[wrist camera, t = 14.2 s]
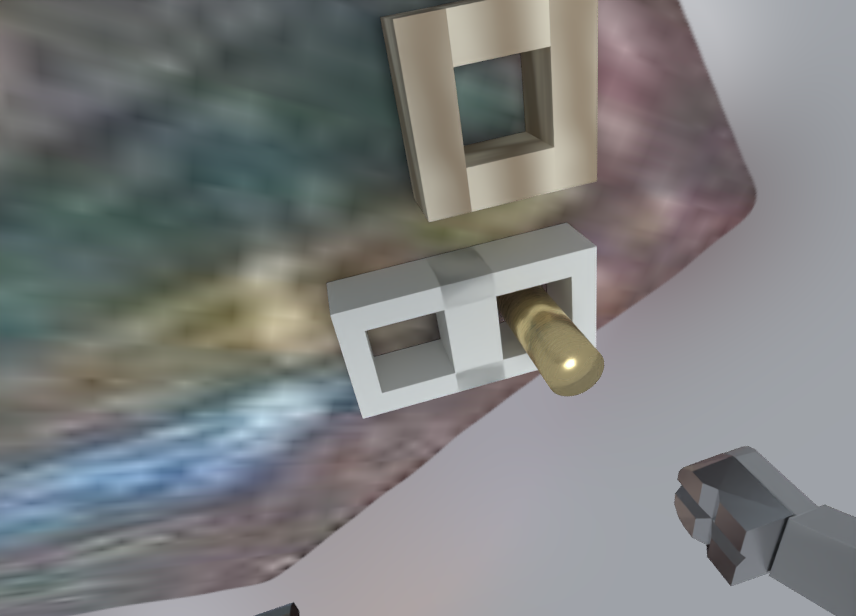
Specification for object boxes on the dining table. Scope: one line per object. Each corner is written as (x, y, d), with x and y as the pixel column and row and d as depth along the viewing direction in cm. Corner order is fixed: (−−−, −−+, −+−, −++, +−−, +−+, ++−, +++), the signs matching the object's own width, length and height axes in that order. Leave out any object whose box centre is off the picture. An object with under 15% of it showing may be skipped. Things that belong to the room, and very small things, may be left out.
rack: (356, 380, 46) (363, 418, 42) (326, 282, 41) (330, 315, 37) (569, 322, 48) (595, 353, 44) (566, 222, 43) (596, 246, 39)
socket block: (414, 198, 39) (428, 222, 35) (380, 17, 33) (392, 19, 29) (565, 162, 40) (596, 181, 36) (560, -20, 34) (598, -23, 30)
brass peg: (492, 314, 46) (549, 402, 36) (487, 275, 44) (546, 356, 34) (535, 303, 46) (603, 387, 36) (533, 263, 44) (604, 340, 34)
